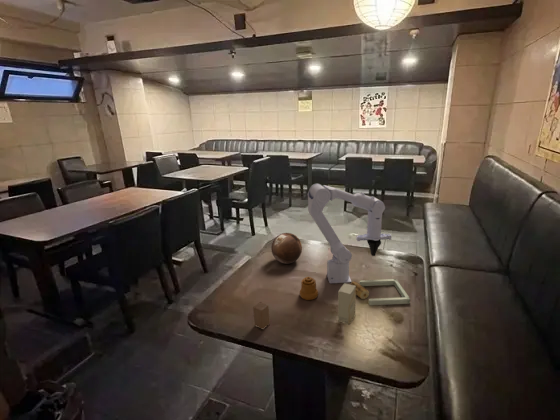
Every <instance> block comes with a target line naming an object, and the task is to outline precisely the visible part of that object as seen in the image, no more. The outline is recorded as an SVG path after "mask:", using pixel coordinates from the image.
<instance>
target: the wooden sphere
mask: <svg viewBox="0 0 560 420" xmlns="http://www.w3.org/2000/svg"><path fill="white" fill-rule="evenodd" d="M302 252H303V245H302V242H301V240H300V239H299V237H298V236H297V235H295V234H293V233H291V232H283V233H280V234H277V236H275V238H274V239H273V240H272V243H271V254H272V256H273V257H274V259H275V260H276V261H277V262H279V263H282V264H286V265H287V264H293V263H295V262H296V261H297V260H298V259H299V258H300V257H301V254H302Z"/></svg>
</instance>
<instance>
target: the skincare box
mask: <svg viewBox="0 0 560 420" xmlns="http://www.w3.org/2000/svg"><path fill="white" fill-rule="evenodd" d="M337 292H338V294H337V295H338V297H337V304H338V307H337V308H338V309H337V321H338V322H341V323H343V324H346V325H351V323H352V322H353V320H354V318H355V316H356V300H357V299H356V297H357V295H356V286H355V285H351V283H342V285H341V286H340V288H339V290H338V291H337Z"/></svg>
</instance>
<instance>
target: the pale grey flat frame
mask: <svg viewBox="0 0 560 420" xmlns="http://www.w3.org/2000/svg"><path fill="white" fill-rule="evenodd" d="M359 284H360V285H361V286H362V287H373V286H376V287H377V286H394V287H395V288H396V290H397V292H398V293H399V295H400V296H401V297H383V298H381V297H380V298H368V305H369V306H385V305H406V304H407V305H409V304H411V298H410V296H409V295H408V294H407V292H406V291H405V289H404V287H402V285H401V284H400V282H399V280H398V279H397V278H388V279H370V280H369V279H368V280H366V279H365V280H364V279H363V280H359Z"/></svg>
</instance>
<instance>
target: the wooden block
mask: <svg viewBox="0 0 560 420" xmlns="http://www.w3.org/2000/svg"><path fill="white" fill-rule="evenodd" d="M252 311H253V323H254V326H255V325H257V326H259V327H260V328H264V327H265V326H267V325H268V324H269V323H270V324H271V321H270V320H271V319H270V307H269V305H268V304H267V303H264V302H262V301H260V302H258V303H257V304H255V305H254V306H253V308H252ZM270 324H269V325H270ZM269 325H268V326H269ZM268 326H267V327H268Z"/></svg>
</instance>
